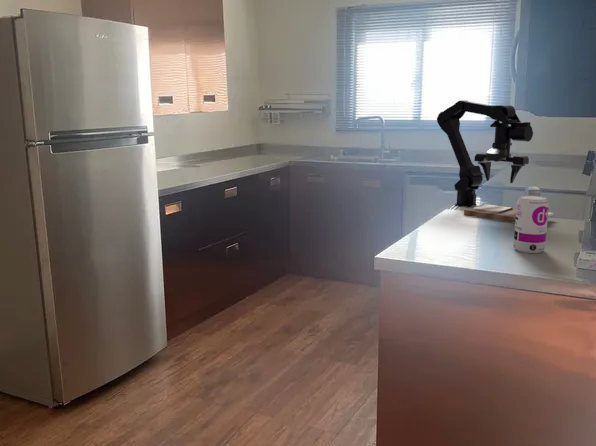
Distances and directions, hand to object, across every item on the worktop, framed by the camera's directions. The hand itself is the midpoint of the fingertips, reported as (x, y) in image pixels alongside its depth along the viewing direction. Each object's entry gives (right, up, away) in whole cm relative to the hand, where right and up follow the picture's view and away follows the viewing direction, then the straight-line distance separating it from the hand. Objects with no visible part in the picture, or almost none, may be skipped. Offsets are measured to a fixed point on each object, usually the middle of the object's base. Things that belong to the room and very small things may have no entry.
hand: (499, 181), depth 221 cm
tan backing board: (-2, -13, -8) cm, 15 cm away
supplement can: (-10, -23, -55) cm, 60 cm away
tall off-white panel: (+8, -13, -17) cm, 23 cm away
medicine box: (+13, -11, +4) cm, 18 cm away
